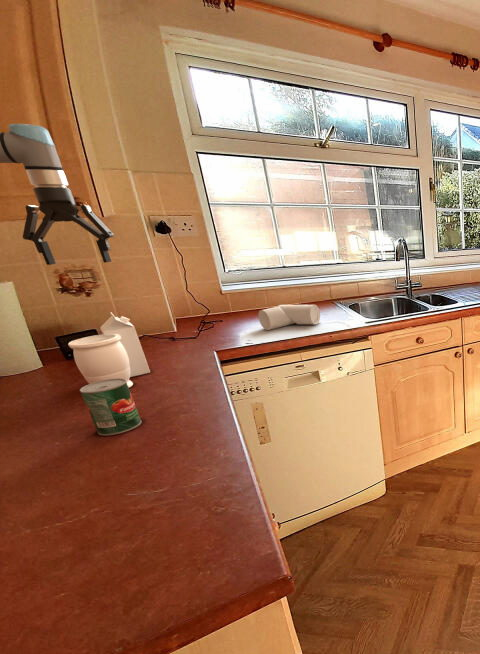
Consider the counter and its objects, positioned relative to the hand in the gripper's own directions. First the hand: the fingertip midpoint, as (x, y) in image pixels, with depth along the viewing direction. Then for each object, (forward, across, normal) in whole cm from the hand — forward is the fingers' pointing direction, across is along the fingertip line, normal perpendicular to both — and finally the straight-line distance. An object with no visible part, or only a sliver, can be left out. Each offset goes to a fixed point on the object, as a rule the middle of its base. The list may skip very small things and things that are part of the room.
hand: (80, 263), depth 128 cm
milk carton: (+33, -9, +13) cm, 36 cm away
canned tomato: (+33, -22, +53) cm, 66 cm away
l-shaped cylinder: (+33, -50, -30) cm, 67 cm away
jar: (+33, -9, +25) cm, 42 cm away
